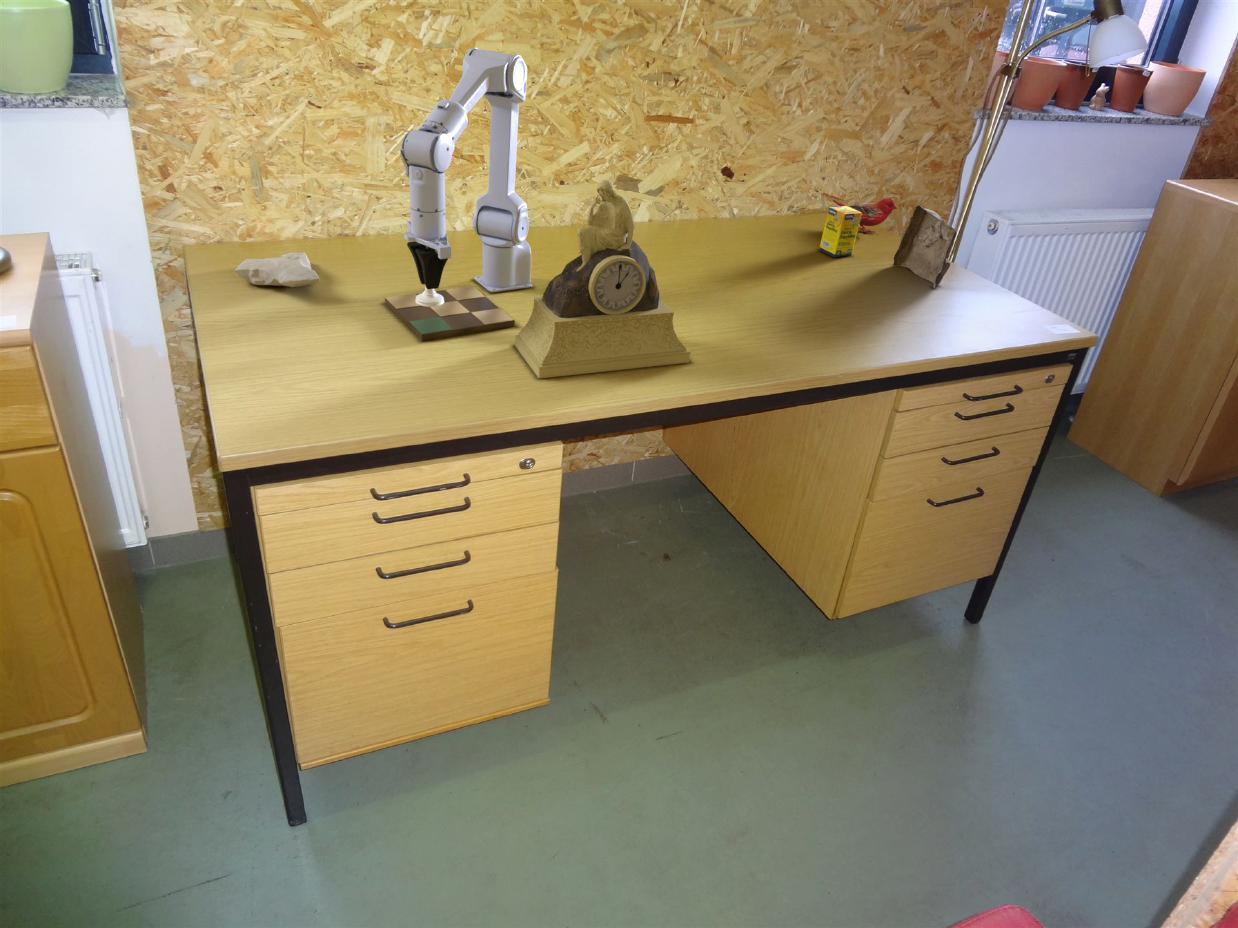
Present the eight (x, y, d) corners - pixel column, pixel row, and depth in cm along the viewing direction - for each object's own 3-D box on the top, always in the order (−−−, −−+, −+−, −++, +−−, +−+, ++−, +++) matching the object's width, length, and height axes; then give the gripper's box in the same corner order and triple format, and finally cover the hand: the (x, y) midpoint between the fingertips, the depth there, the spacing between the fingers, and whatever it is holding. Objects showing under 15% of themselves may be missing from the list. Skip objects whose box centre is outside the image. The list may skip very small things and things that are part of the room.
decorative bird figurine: (888, 239, 231) (898, 201, 226) (825, 223, 238) (834, 187, 232) (891, 236, 233) (901, 199, 228) (829, 221, 240) (837, 185, 235)
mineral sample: (891, 264, 212) (908, 203, 204) (904, 264, 213) (922, 203, 205) (934, 290, 199) (954, 225, 191) (948, 289, 200) (968, 225, 192)
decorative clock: (538, 378, 142) (547, 195, 126) (515, 346, 152) (520, 172, 136) (688, 362, 153) (714, 192, 137) (657, 333, 163) (678, 171, 147)
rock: (237, 306, 156) (322, 295, 160) (230, 281, 153) (317, 271, 158) (241, 272, 173) (318, 263, 177) (235, 250, 171) (313, 241, 175)
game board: (472, 292, 172) (472, 285, 171) (514, 326, 159) (514, 319, 159) (385, 303, 162) (384, 297, 162) (421, 341, 150) (421, 334, 150)
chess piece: (449, 299, 153) (448, 244, 148) (435, 309, 149) (433, 252, 144) (424, 294, 154) (422, 239, 149) (410, 303, 150) (407, 247, 145)
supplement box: (834, 258, 212) (844, 213, 206) (818, 250, 216) (828, 206, 211) (852, 256, 215) (862, 212, 209) (835, 248, 219) (846, 205, 213)
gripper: (388, 197, 146) (392, 274, 153) (421, 222, 136) (423, 303, 143) (428, 194, 149) (429, 269, 156) (463, 219, 139) (463, 298, 147)
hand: (429, 285), depth 150 cm, fingers closed on chess piece
